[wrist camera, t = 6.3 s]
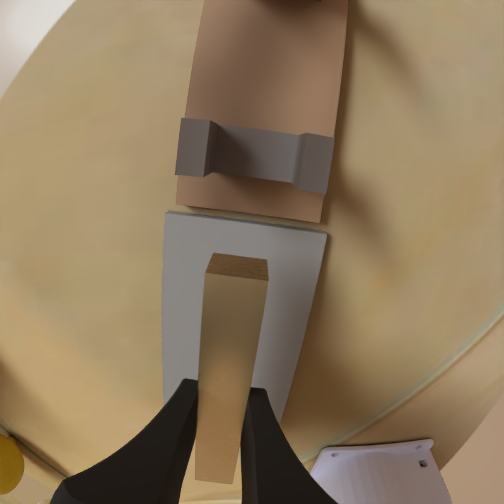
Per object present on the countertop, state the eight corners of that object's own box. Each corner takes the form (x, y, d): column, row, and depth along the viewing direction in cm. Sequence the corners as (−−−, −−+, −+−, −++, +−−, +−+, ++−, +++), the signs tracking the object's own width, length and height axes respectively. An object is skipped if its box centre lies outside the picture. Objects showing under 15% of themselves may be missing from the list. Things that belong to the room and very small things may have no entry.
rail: (267, 259, 11) (268, 281, 9) (234, 457, 14) (232, 484, 12) (213, 252, 11) (204, 272, 9) (199, 452, 14) (195, 479, 12)
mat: (325, 231, 14) (327, 234, 14) (279, 420, 18) (279, 426, 17) (168, 210, 14) (165, 213, 14) (166, 405, 18) (164, 411, 17)
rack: (346, -37, 10) (377, -92, 5) (316, 219, 14) (344, 256, 9) (221, -54, 10) (208, -114, 5) (180, 200, 14) (141, 230, 9)
